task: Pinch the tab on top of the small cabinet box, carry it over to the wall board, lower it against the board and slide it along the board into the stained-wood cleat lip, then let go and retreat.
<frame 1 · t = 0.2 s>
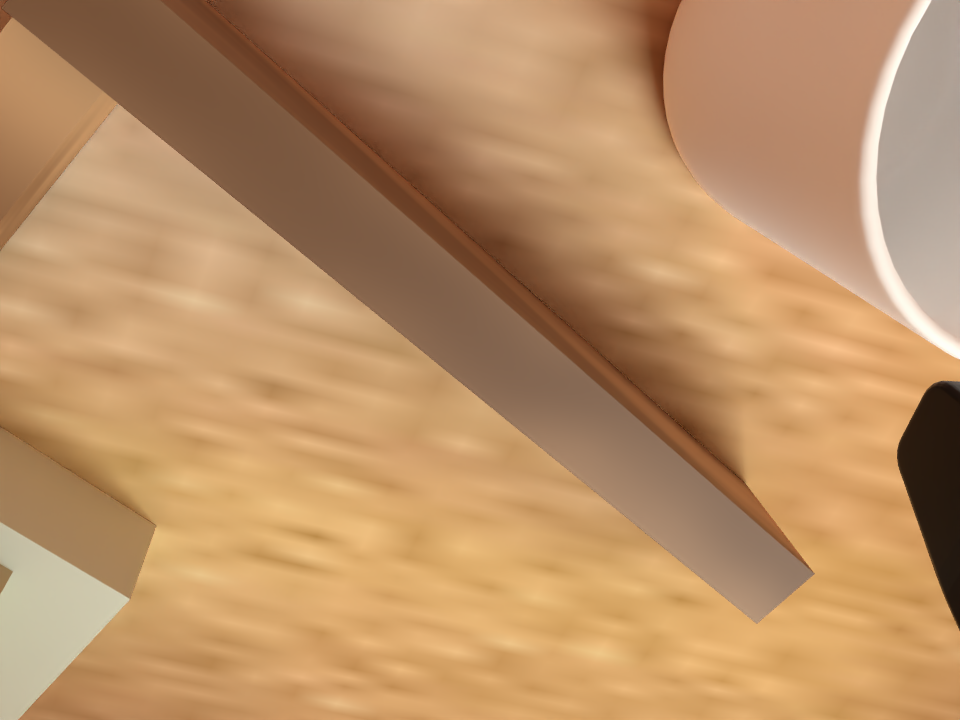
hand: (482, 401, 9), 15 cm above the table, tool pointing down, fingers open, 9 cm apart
mug: (763, 11, 23), on the table
cleat board: (460, 279, 24), on the table
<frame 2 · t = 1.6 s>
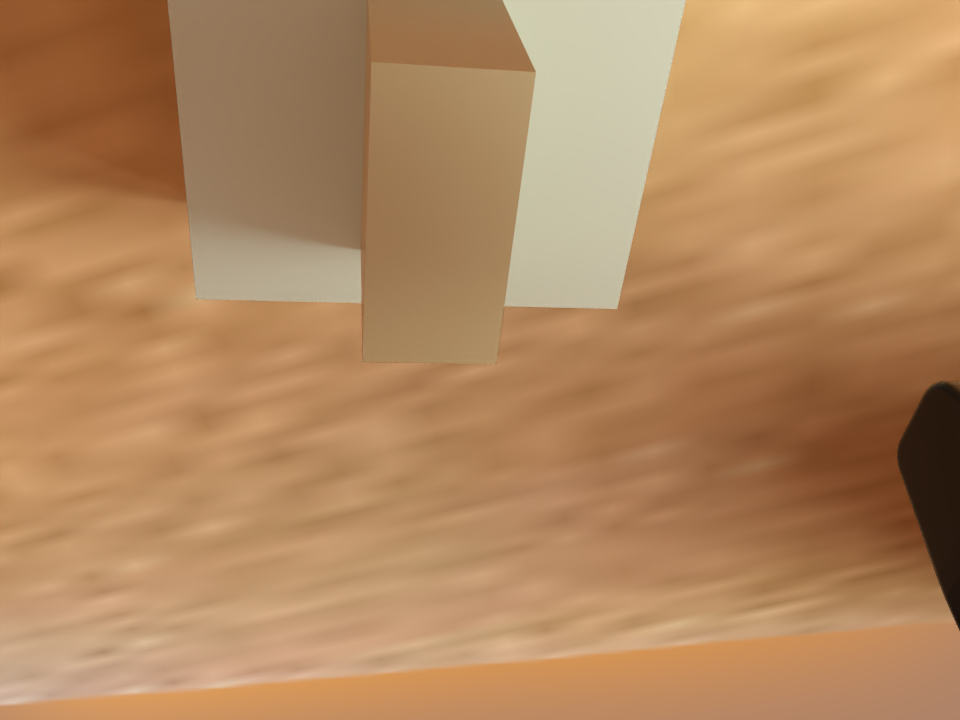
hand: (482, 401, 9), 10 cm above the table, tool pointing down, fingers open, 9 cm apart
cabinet: (412, 55, 16), on the table
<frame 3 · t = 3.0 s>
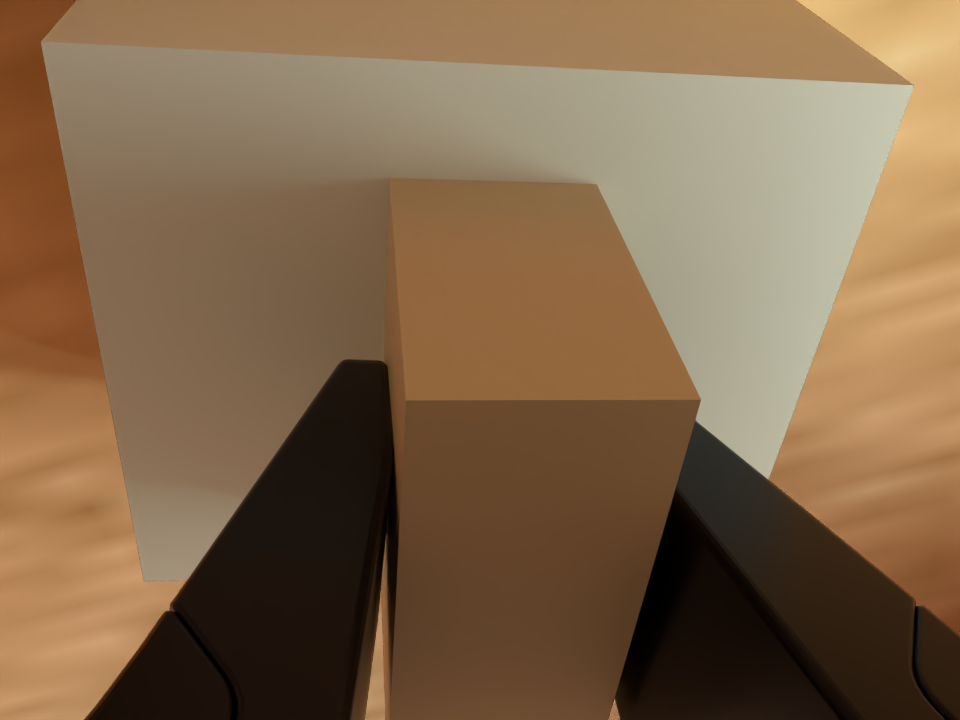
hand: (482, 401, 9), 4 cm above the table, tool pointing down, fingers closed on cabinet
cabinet: (446, 205, 12), on the table, touching gripper
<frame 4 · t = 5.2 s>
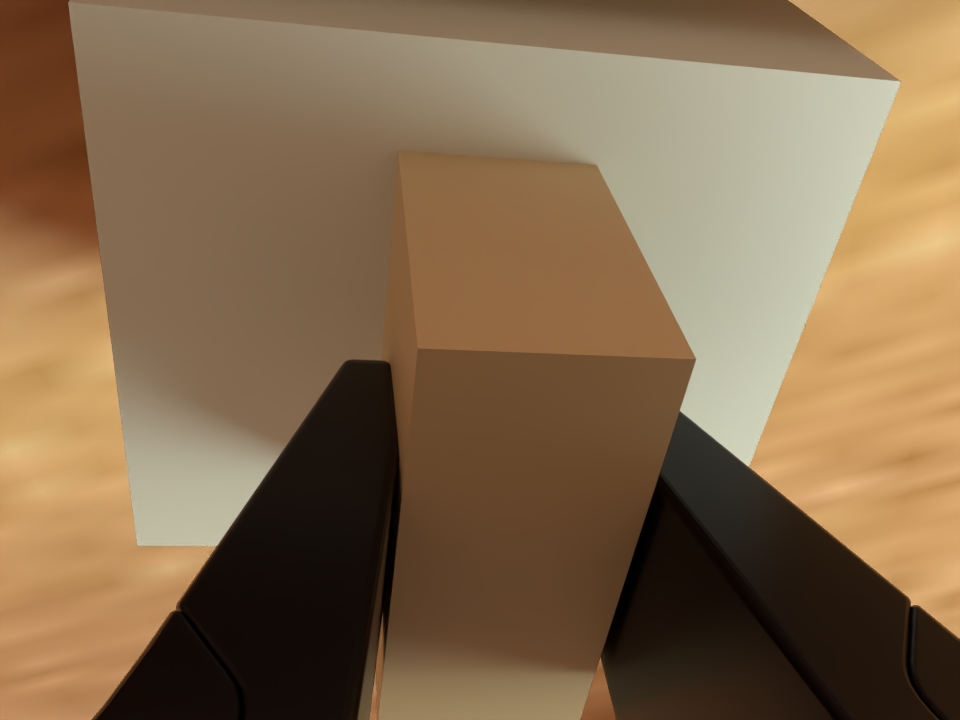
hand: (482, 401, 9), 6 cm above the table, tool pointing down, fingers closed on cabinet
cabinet: (444, 190, 12), point 2 cm above the table, touching gripper
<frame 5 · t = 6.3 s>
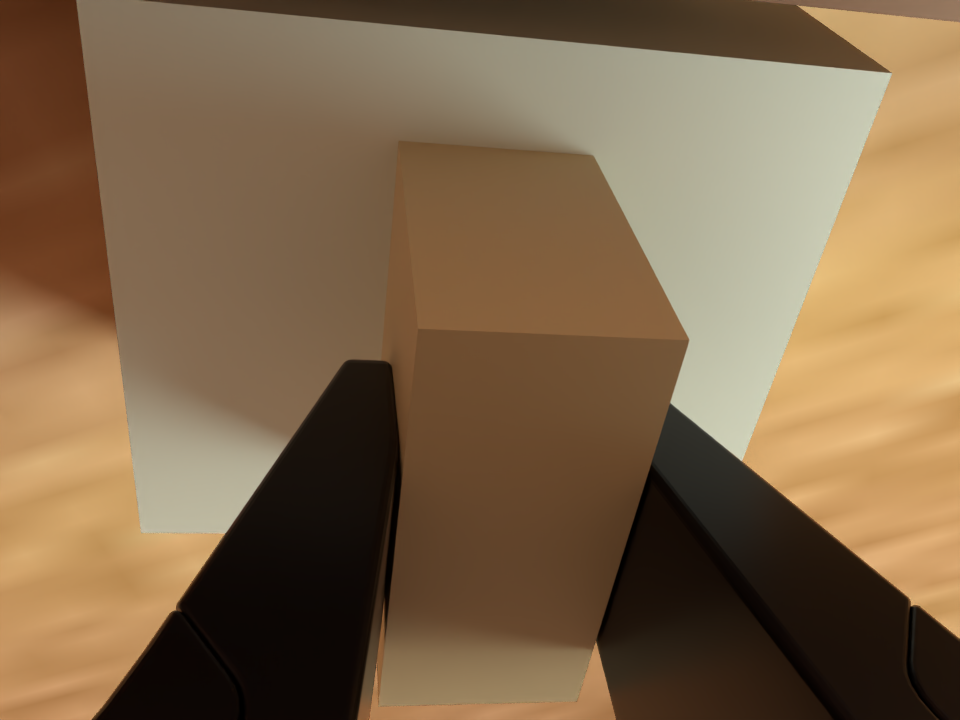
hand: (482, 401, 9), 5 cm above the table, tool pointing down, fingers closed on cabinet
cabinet: (443, 184, 12), on the table, touching gripper
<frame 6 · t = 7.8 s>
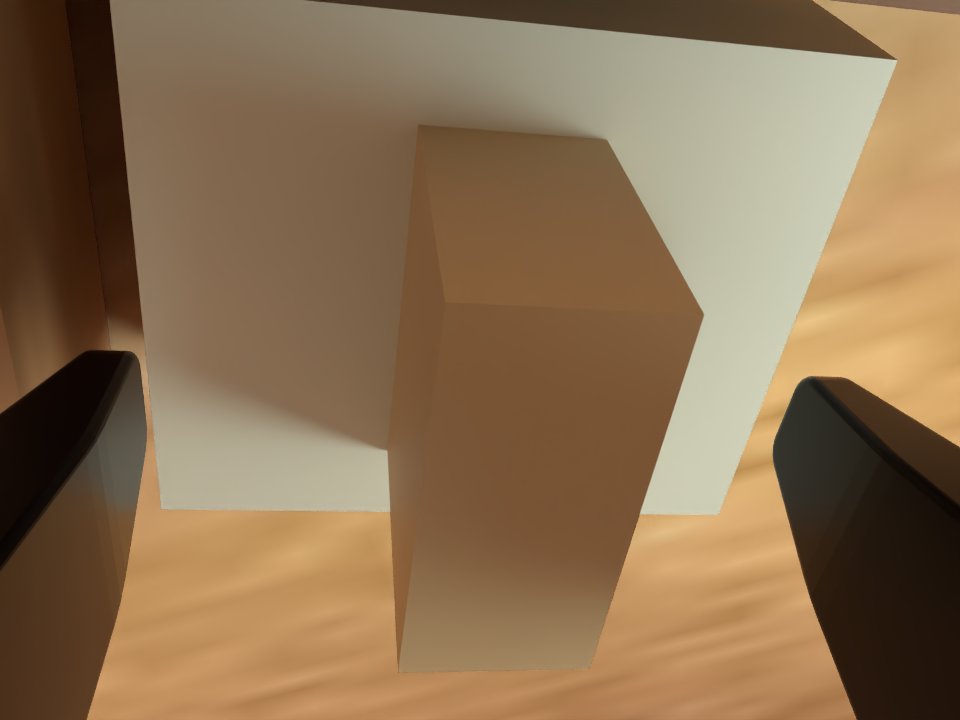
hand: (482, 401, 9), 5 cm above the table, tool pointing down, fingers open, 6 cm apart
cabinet: (455, 170, 13), on the table
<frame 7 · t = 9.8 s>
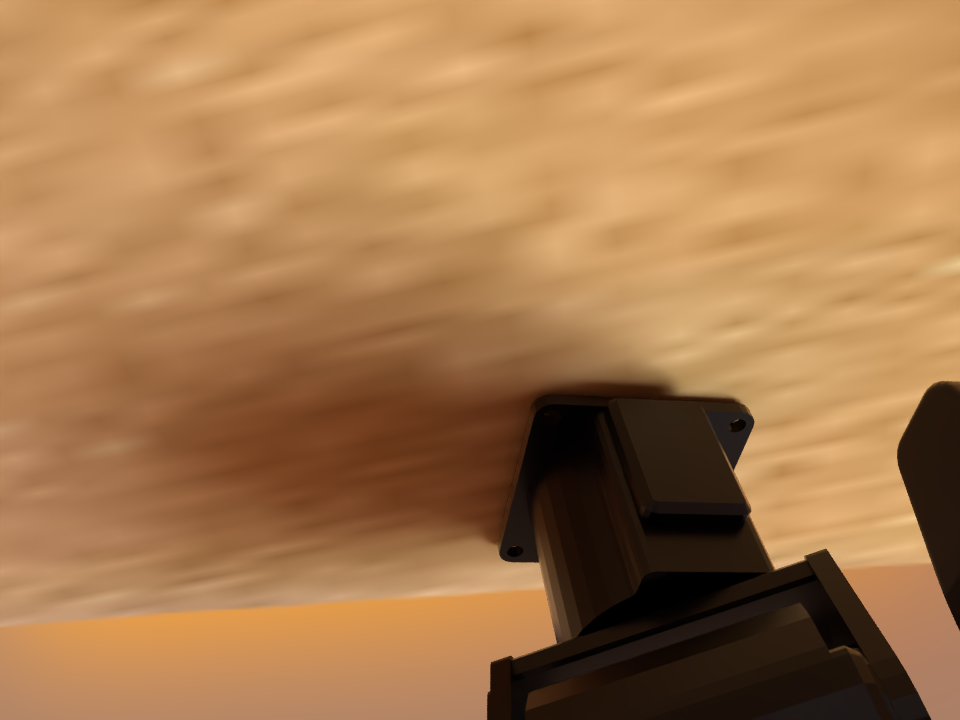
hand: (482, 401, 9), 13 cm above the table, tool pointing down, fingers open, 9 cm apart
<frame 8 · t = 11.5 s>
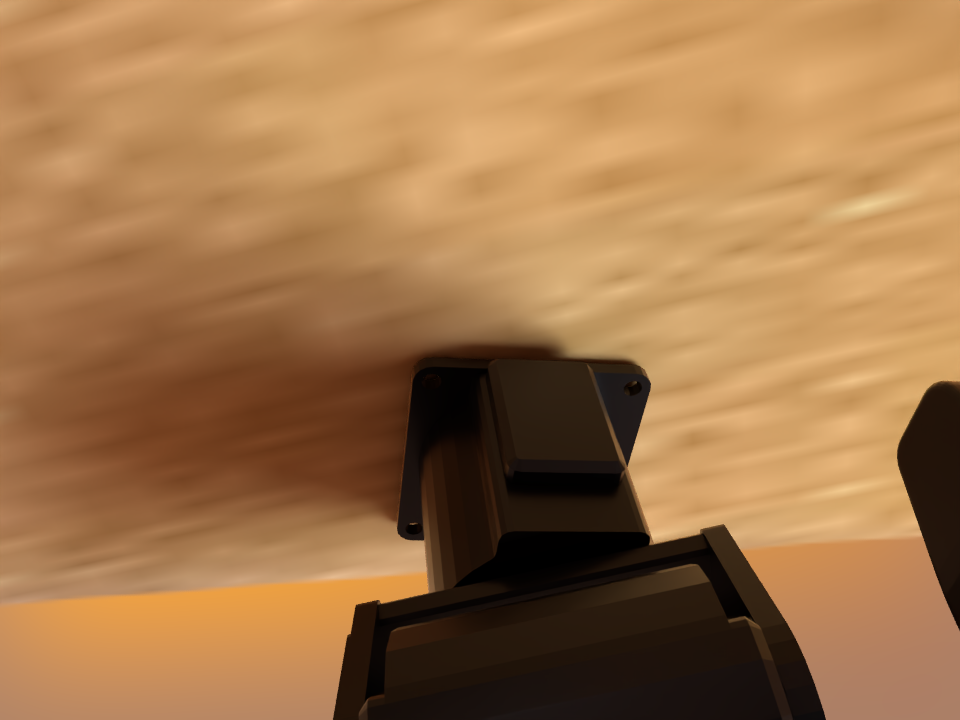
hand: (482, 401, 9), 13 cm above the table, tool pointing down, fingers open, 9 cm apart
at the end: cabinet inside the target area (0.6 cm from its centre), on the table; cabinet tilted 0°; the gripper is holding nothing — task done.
